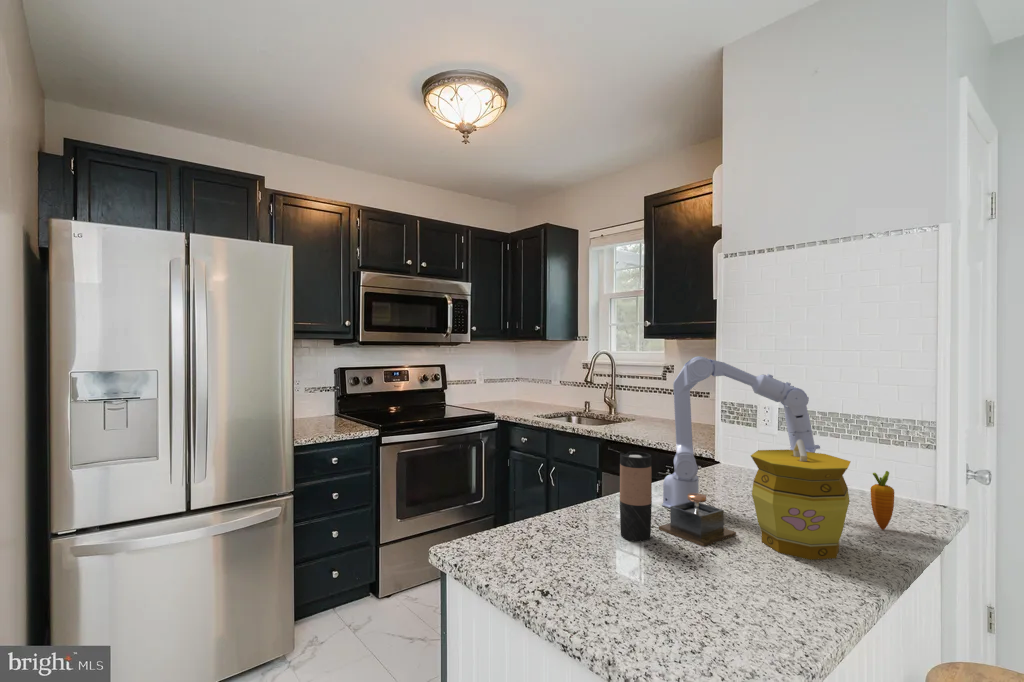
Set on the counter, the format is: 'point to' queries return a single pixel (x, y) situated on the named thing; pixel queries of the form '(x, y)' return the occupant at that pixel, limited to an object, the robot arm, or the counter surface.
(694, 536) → the knob box on board
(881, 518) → the carrot
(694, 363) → the robot arm
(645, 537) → the travel mug
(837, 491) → the container
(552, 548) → the counter surface
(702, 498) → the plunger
